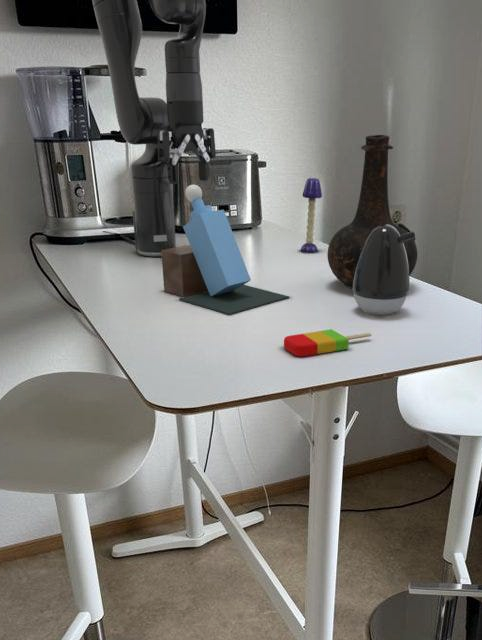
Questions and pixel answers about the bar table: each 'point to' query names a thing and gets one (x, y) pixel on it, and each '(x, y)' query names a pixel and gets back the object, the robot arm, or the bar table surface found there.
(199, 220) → the bottle
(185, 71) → the robot arm
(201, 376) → the bar table surface
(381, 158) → the glass bottle
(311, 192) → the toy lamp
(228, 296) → the mat
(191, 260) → the block
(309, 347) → the popsicle
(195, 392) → the bar table surface
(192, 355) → the bar table surface
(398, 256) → the pump dispenser
